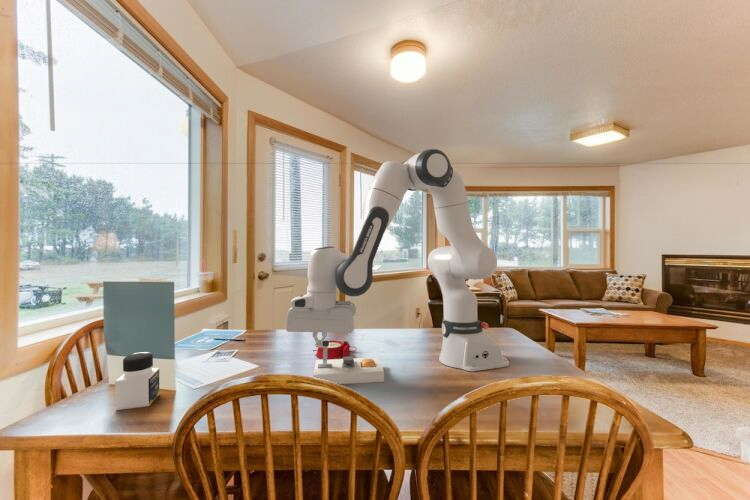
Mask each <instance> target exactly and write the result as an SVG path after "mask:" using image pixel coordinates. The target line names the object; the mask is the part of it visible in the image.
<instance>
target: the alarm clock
mask: <svg viewBox="0 0 750 500" xmlns="http://www.w3.org/2000/svg"><path fill="white" fill-rule="evenodd" d="M327 341H328V342H329V346H328V349H327V360H331V359H342V358H343V357H350V353H352V352H356V351H357V349H358V348H357V347H356V346H353V348H355V349H354V350H350V349H351V345H350V343H349V342H348V341H347V340H346V341H345V340H344V341H343V342H342V341H340V340H339V341H338V340H327ZM314 345H315V346H316V343H315V344H314ZM312 351H313V352H316V353H315V356H316V357H317V358H318V359H320V360H323V347H317V349H315V350H314V349H313V350H312Z"/></svg>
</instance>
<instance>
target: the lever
mask: <svg viewBox="0 0 750 500" xmlns="http://www.w3.org/2000/svg"><path fill="white" fill-rule="evenodd" d="M328 341H329V340H325V339H324V341H323V359H322V360H323V364H327V360H328V359H327V349H328V346H329V342H328Z"/></svg>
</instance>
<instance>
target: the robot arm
mask: <svg viewBox="0 0 750 500" xmlns="http://www.w3.org/2000/svg"><path fill="white" fill-rule="evenodd" d="M464 183H465V182H464V180H463V178H462V176H461V175H460V173H459V172H458V171H455V170H454V169H453V167H452V164H451V161H450V160H449V158H448V155H447V154H446V153H444V151H442V150H440V149H436V148H429V149H426V150H423V151H422V152H418V153H416V154H414V155H413V156H411V157H410V158H408V159H407V160H405V161H404V162H402V163H401V162H399V161H397V160H388V161H385V162H383V163H382V164H381V166H380V167H379V168H378V169H377V171H376V173H375V175H374V177H373V178H372V180H371V182H370V185H369V186H368V189H367V191H366V194H365V197H364V200H363V203H362V209H361V212H362V226H361V229H360V232H359V234H358V237H357V240H356V242H355V244H354V247H353V249H352V251H351V253H350V255H347V254H345V253H344V252H343V251H340V250H339V249H337V248H336V246H323V247H318V248H317V247H316V248H315V249H313V250H311V251H310V254H309V257H308V263H307V264H308V265H307V273H306V274H307V276H306V277H307V279H308V283H307V288H306V294H302V295H301V294H300V295H299V296H295V297H293V298H292V299H291V300H290V308H289V309H288V311H287V313H286V316H285V317H286V318H285V324H284V328H285V330H286V332H288V333H312V337H313V339H314V341H315V344H316V345H315V348H318V347H323V341H325V339H326V338H327V336H328V335H327V334H328V333H335V334H336V333H338V334H339V333H346V334H347V333H350V334H351V333H352V332H354V330H355V320H354V316H355V315H356V313H357V312H356V311H357V306H356V305H355V303H353V302H352V301H350V300H345V301H343V300H337V292H338V291H337V290H339V291H340V292H341V293H342V294H343V295H346V296H348V297H359V296H362V295H364V294H365V293H366V292H368V291H369V289H370V287H371V286H372V283H373V277H374V275H373V264H374V260H375V257H376V255H377V252H378V250H379V246H380V244H381V242H382V239H383V237H384V234H385V232H386V231H387V229H388V227H389V226H390V224H391V223H392V221H393V219H394V218H395V217H396V215H397V214H398V211H399V209H400V207H401V204H402V202H403V200H404V197H405V194H406V193H407V192H408V191H411V192H417V191H421V190H426V189H427V191H428V192H429V193H430V195H431V197H432V201H433V203H432V204H433V208H434V216H435V221H436V228H437V231H438V232H439V234H440V235H442V236H443V237H445V239H447V241H448V242H449V243H450V245H444V246H439V247H436V248H434V249H432V250H431V251H430V252H429V254H428V256H427V266H428V267H427V268H428V270H429V271H430V272H431V273H432V274H433V276H434V277H435V278H436V280H437V283H438V285H439V287H440V290H441V294H442V301H443V302H442V305H443V306H442V307H443V317H442V322H441V332H442V333H441V334H442V343H441V349H440V354H439V357H438V362H440V363H442V365H445V366H448V367H451V368H456V369H460V370H461V369H462V370H464V371H468V372H477V371H484V370H491V369H499V368H506V367H509V366H510V362H509V360H508V359H507V357H505V356H503V354H502V350H501V347H500V344H499V343H498V342H497V340H495V339H493V337H491V336H490V335H489V334H488V333H487V332H485V331H483V330H487V329H488V328H489V323H487V322H485V321H481V320H479V319H478V298H477V295H476V294H475V293H474V292H473V291H472V290H471V289H470V288H469V287H468V285H467V282H466V280H473V281H475V280H484V279H488V278H491V277H492V276H493V275H494V274H495V272H496V270H497V267H498V259H497V256H496V254H495V252H494V250H492V249H491V248H490V247H488V246H487V245H486V244H485V243H484V242H483V241H482V240H481V238H480V237H479V235H478V233H477V231H476V230H475V227H474V225H473V222H472V216H471V212H470V205H469V201H468V194H467V189H466V186H465V184H464ZM318 333H321V336H322V337H321V338H320V339H319V338H318Z"/></svg>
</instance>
